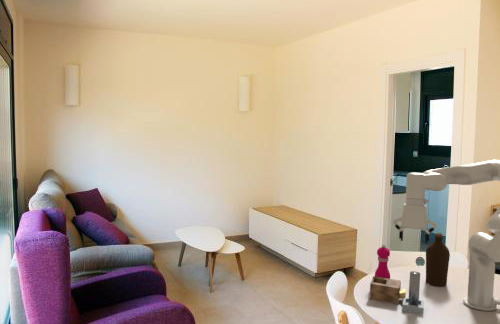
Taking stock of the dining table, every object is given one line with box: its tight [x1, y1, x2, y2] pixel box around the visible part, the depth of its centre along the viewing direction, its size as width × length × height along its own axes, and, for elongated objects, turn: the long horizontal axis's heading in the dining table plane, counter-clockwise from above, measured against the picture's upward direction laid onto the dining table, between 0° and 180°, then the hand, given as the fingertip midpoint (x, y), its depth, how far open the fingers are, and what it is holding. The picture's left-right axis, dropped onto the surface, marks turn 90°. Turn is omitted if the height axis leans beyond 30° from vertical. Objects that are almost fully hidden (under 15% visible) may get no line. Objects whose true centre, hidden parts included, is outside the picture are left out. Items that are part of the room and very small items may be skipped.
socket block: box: [369, 275, 402, 305], centre depth 181 cm, size 12×10×7 cm
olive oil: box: [425, 232, 451, 288], centre depth 198 cm, size 11×11×25 cm
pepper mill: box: [374, 243, 391, 279], centre depth 196 cm, size 7×7×20 cm
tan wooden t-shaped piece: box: [399, 288, 407, 302], centre depth 179 cm, size 7×4×4 cm, turn 65°
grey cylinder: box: [408, 270, 421, 306], centre depth 170 cm, size 4×4×14 cm
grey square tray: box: [401, 296, 425, 315], centre depth 170 cm, size 8×8×3 cm
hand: (413, 241), depth 173 cm, fingers open, 9 cm apart
